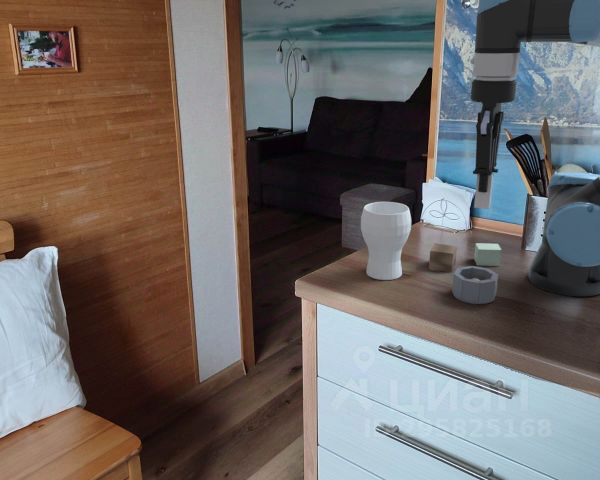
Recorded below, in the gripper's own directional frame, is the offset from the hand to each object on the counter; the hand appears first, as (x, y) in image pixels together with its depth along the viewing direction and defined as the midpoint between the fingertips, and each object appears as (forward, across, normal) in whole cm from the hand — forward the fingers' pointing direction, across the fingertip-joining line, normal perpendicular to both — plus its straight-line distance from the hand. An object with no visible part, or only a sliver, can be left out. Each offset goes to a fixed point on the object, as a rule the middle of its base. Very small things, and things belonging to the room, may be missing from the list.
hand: (482, 207), depth 109 cm
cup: (+19, -3, -20) cm, 27 cm away
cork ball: (+16, 0, 0) cm, 16 cm away
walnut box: (+19, -12, -10) cm, 24 cm away
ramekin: (+18, 0, 0) cm, 18 cm away
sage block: (+19, -19, -1) cm, 27 cm away
